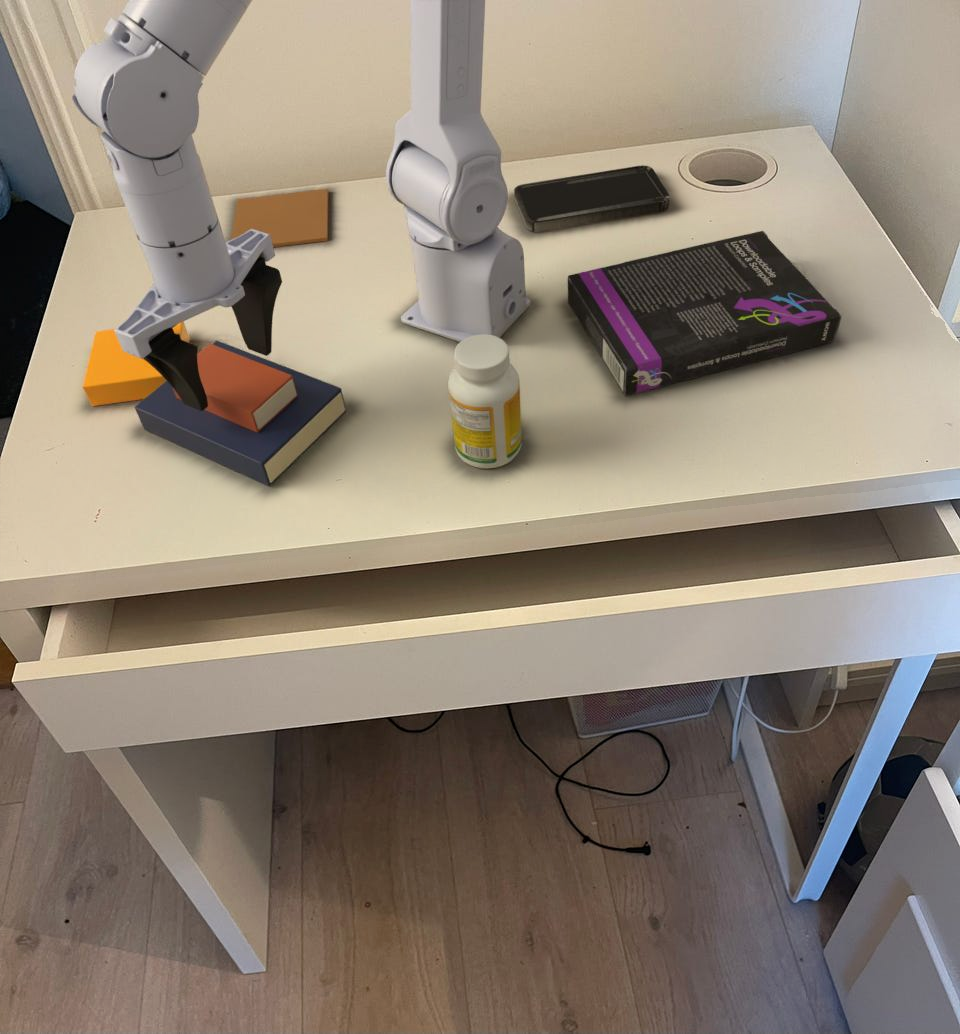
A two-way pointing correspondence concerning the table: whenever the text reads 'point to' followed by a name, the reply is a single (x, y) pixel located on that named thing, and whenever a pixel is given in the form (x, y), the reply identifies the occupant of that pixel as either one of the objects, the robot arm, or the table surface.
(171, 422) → the hardcover
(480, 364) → the supplement bottle
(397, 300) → the table surface
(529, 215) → the phone
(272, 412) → the paperback
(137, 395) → the flat orange square block
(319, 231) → the desk pad
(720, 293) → the box
